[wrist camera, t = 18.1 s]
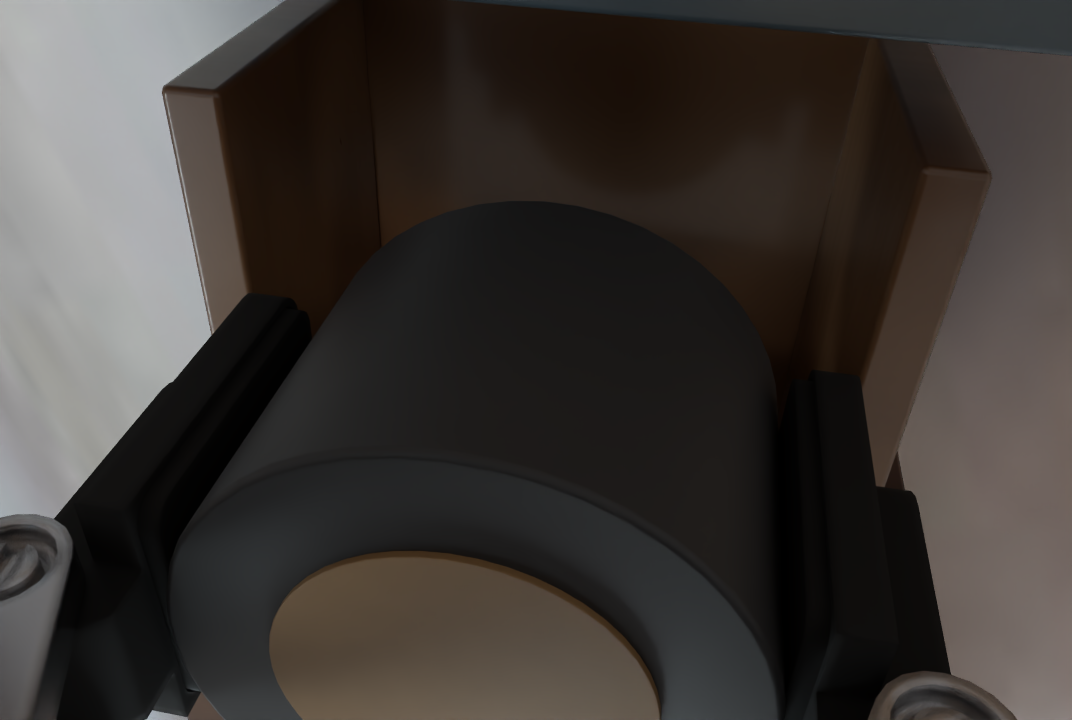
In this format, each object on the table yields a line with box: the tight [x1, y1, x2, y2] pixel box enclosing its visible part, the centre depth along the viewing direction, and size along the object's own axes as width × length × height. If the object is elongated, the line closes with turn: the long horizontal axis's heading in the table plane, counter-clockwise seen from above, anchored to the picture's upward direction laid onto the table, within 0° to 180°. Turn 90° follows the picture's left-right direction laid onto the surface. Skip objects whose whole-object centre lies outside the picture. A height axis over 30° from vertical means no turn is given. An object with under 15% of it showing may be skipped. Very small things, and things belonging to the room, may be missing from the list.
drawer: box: [162, 0, 1072, 487], centre depth 15 cm, size 19×12×7 cm, turn 178°
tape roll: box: [166, 201, 786, 720], centre depth 11 cm, size 6×6×5 cm
